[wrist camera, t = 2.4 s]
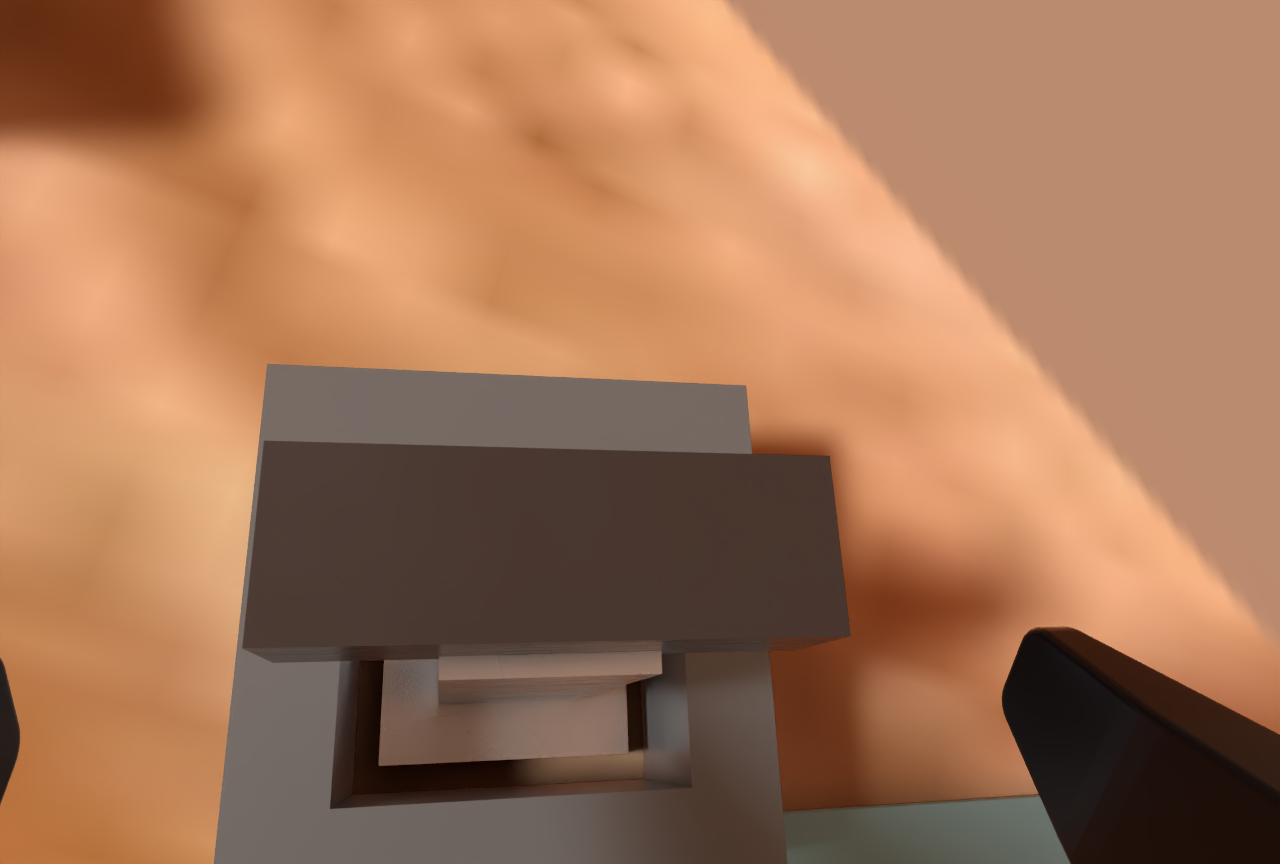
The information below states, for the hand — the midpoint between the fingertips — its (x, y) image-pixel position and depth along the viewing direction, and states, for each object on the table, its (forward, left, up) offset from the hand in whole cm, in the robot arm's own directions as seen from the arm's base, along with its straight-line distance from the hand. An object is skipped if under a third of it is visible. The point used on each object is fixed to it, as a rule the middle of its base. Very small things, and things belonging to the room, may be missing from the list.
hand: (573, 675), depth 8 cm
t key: (+1, 0, -10) cm, 10 cm away
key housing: (+1, 0, -10) cm, 10 cm away
